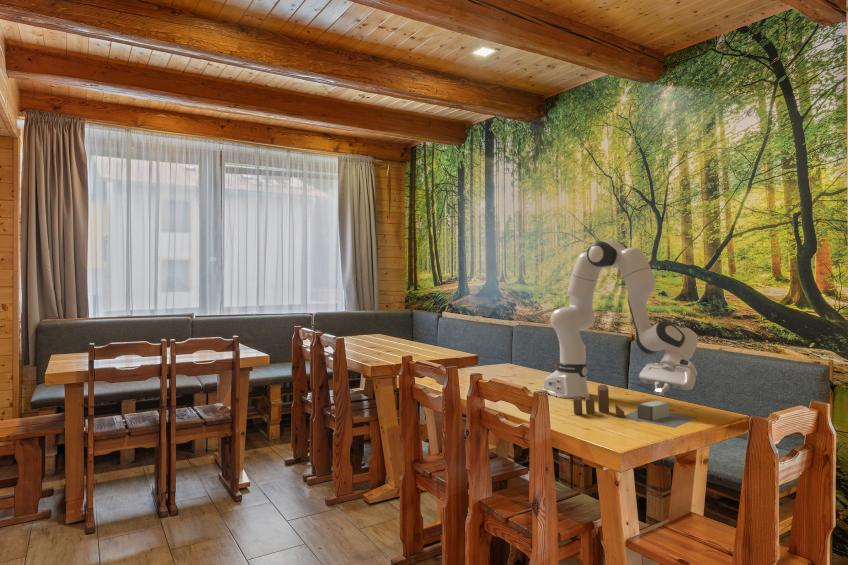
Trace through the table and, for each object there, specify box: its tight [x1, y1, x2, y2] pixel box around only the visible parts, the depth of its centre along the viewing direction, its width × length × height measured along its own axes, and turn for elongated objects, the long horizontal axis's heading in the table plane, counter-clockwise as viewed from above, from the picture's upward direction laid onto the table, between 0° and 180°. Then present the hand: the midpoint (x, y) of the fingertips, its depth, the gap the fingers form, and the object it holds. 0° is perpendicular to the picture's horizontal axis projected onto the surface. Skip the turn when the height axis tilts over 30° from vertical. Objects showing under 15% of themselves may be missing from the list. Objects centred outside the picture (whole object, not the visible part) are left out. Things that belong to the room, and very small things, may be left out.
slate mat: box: [619, 409, 698, 428], centre depth 203 cm, size 20×20×1 cm
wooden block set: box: [572, 384, 626, 418], centre depth 208 cm, size 18×9×10 cm, turn 76°
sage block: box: [637, 399, 670, 421], centre depth 203 cm, size 5×5×12 cm
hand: (658, 393), depth 205 cm, fingers closed
